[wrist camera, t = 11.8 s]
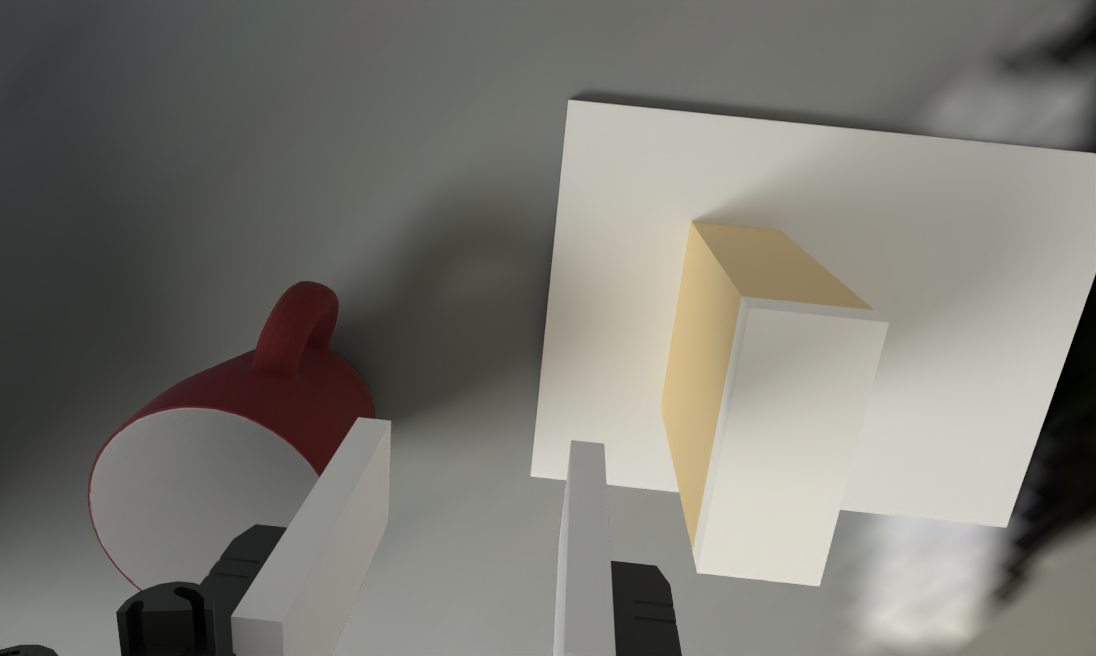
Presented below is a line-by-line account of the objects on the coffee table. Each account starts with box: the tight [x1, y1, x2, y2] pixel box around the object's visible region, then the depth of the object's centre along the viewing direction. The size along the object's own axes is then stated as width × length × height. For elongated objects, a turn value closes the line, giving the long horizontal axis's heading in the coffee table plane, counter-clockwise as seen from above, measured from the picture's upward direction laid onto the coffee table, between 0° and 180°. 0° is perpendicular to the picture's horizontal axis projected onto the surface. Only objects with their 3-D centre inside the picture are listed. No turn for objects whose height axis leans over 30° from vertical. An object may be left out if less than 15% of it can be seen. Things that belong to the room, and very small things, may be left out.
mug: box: [88, 281, 376, 591], centre depth 28 cm, size 10×8×10 cm
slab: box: [661, 221, 889, 586], centre depth 25 cm, size 4×8×11 cm, turn 175°
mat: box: [531, 99, 1096, 527], centre depth 31 cm, size 21×16×1 cm
